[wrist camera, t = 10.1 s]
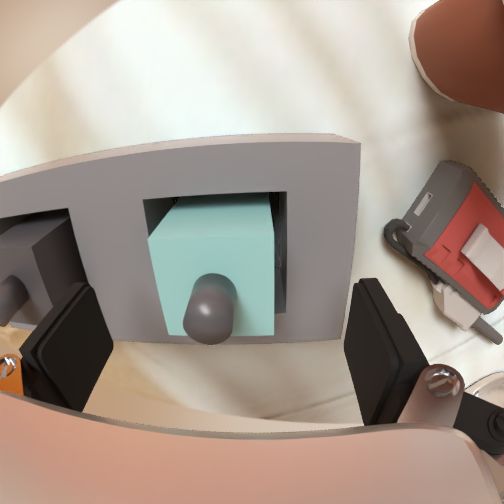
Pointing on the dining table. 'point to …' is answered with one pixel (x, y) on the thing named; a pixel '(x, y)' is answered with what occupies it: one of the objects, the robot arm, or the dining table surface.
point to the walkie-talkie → (457, 244)
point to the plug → (216, 266)
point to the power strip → (152, 213)
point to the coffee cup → (462, 51)
